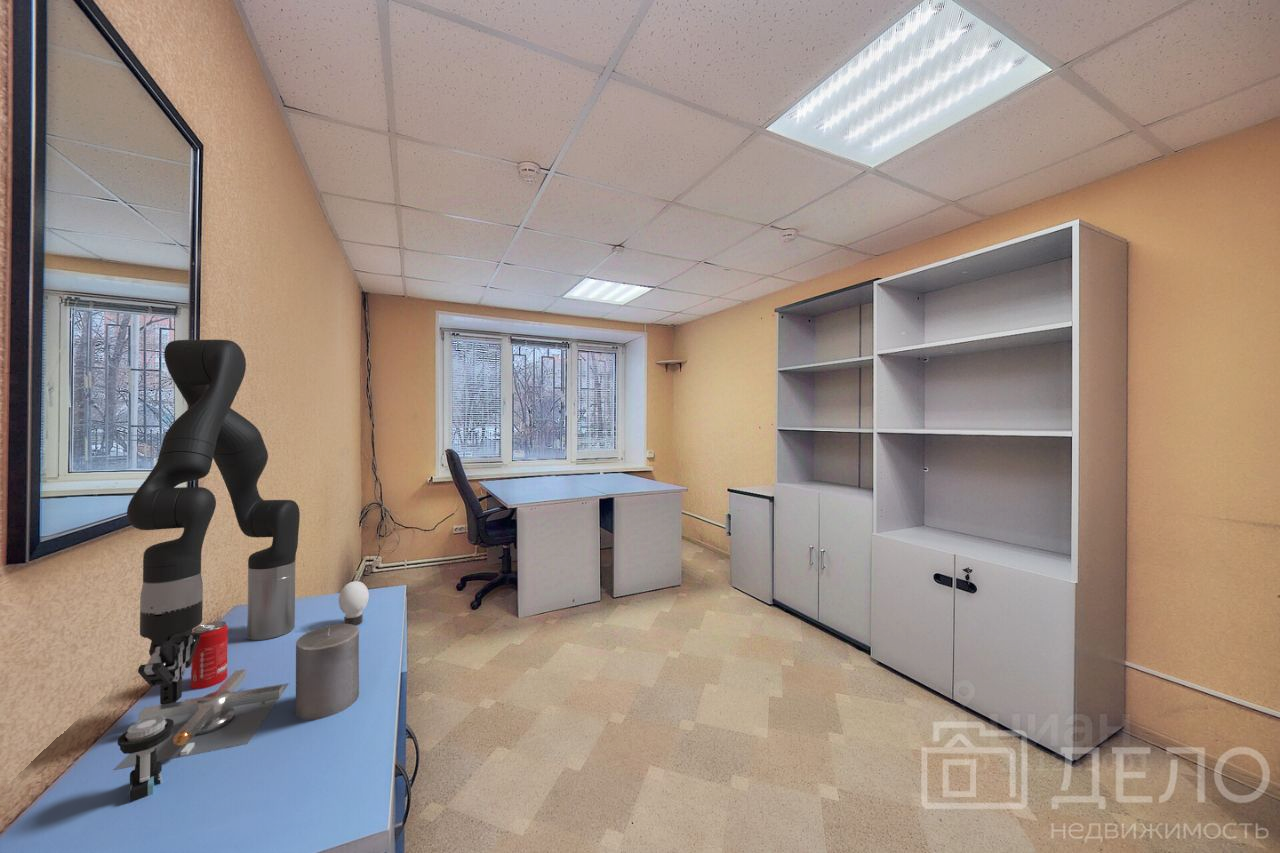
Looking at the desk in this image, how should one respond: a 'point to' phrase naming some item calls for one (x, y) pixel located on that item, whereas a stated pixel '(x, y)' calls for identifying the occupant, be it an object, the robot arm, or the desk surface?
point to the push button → (145, 753)
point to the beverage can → (210, 655)
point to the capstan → (211, 708)
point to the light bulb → (353, 602)
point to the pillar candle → (327, 671)
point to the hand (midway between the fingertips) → (171, 701)
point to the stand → (226, 737)
